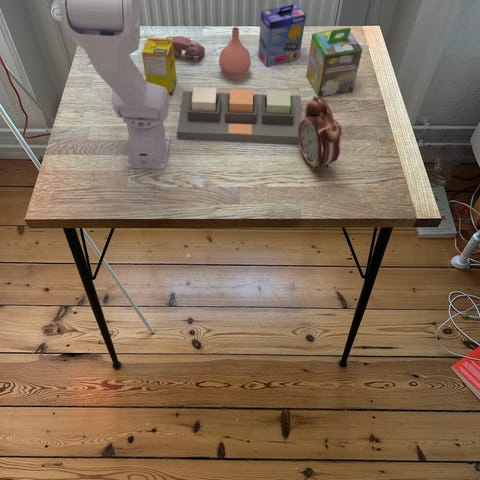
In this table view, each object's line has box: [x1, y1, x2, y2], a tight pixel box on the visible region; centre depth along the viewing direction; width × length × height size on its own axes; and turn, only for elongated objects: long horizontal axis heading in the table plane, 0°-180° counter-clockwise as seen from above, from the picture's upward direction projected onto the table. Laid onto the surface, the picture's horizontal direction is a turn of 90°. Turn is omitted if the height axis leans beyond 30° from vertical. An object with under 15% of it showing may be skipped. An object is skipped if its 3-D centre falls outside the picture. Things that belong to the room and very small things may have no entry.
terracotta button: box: [229, 88, 254, 113], centre depth 110 cm, size 5×5×3 cm
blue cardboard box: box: [257, 3, 307, 67], centre depth 123 cm, size 10×6×14 cm, turn 115°
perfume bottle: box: [218, 26, 252, 79], centre depth 120 cm, size 8×8×12 cm
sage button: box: [266, 89, 291, 114], centre depth 110 cm, size 5×5×3 cm
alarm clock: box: [298, 95, 342, 173], centre depth 101 cm, size 11×5×15 cm, turn 21°
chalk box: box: [306, 27, 364, 97], centre depth 117 cm, size 9×9×15 cm
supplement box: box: [141, 37, 178, 96], centre depth 116 cm, size 6×6×11 cm
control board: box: [176, 90, 303, 145], centre depth 112 cm, size 14×27×4 cm, turn 88°
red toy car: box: [165, 35, 206, 60], centre depth 126 cm, size 10×5×7 cm, turn 73°
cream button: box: [192, 86, 218, 111], centre depth 110 cm, size 5×5×3 cm
